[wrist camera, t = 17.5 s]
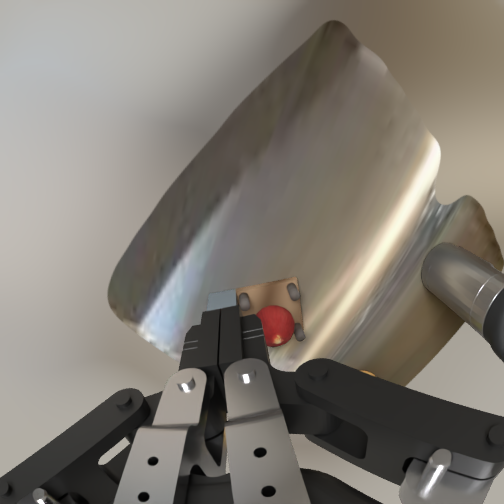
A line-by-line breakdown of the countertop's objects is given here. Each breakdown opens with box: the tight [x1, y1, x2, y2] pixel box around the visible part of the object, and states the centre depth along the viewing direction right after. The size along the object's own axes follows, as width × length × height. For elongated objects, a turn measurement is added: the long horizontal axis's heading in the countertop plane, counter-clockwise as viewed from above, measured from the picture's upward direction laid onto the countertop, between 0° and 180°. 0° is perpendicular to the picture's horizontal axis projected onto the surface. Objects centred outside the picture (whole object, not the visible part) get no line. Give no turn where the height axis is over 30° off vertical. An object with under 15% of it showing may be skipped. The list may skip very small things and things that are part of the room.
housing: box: [207, 289, 238, 311], centre depth 44 cm, size 4×9×5 cm, turn 10°
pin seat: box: [236, 277, 305, 341], centre depth 45 cm, size 13×9×4 cm
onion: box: [256, 305, 295, 347], centre depth 42 cm, size 6×6×8 cm
